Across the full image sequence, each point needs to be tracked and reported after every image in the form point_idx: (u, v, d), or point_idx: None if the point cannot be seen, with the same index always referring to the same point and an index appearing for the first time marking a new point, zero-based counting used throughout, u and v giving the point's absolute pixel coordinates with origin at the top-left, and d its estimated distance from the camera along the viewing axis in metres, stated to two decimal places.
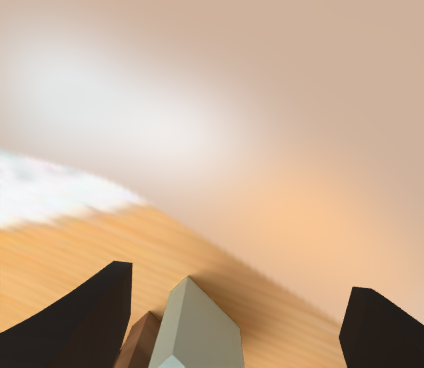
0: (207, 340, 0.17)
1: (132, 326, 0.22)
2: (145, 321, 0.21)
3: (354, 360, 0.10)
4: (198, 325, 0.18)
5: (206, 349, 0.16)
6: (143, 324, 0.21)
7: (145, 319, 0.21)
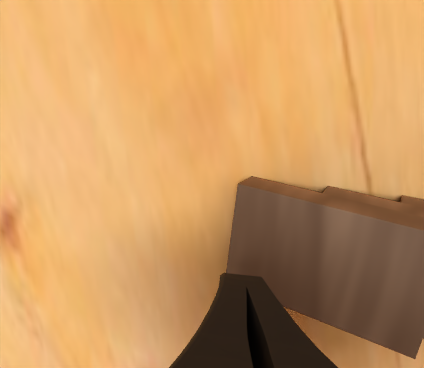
0: None
1: None
2: None
3: None
4: None
5: None
6: None
7: None
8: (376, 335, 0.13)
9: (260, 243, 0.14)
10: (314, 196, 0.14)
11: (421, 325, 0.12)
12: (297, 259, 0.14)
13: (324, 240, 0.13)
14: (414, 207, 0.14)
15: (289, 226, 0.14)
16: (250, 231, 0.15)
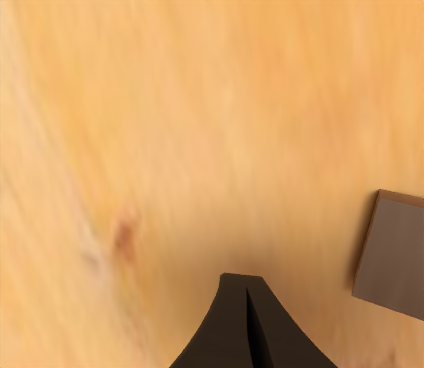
0: None
1: None
2: None
3: None
4: None
5: None
6: None
7: None
8: None
9: (400, 257, 0.14)
10: None
11: None
12: None
13: None
14: None
15: None
16: (389, 245, 0.15)
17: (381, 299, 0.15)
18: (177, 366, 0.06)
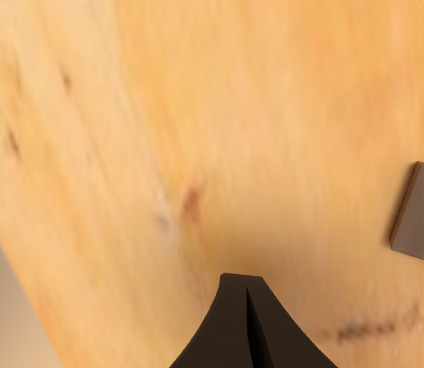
0: None
1: None
2: None
3: None
4: None
5: None
6: None
7: None
8: None
9: None
10: None
11: None
12: None
13: None
14: None
15: None
16: None
17: (416, 251, 0.18)
18: (177, 366, 0.06)
